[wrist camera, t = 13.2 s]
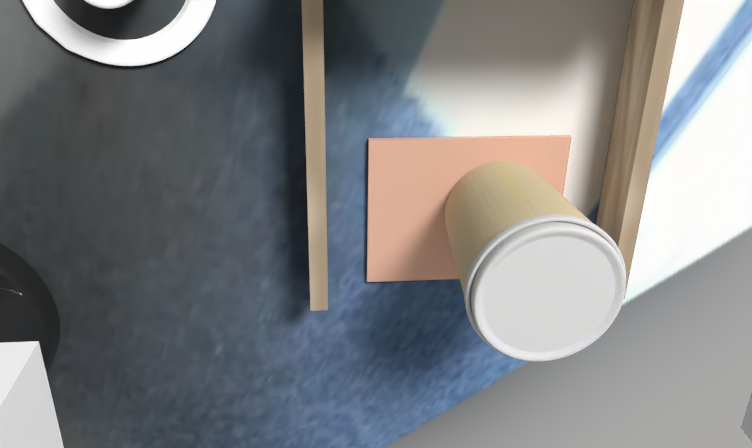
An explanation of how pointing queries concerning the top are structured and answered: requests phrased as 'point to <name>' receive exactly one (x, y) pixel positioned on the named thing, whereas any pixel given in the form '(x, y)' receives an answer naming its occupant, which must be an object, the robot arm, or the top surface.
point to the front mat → (436, 195)
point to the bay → (626, 149)
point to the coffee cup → (531, 264)
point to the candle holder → (122, 51)
